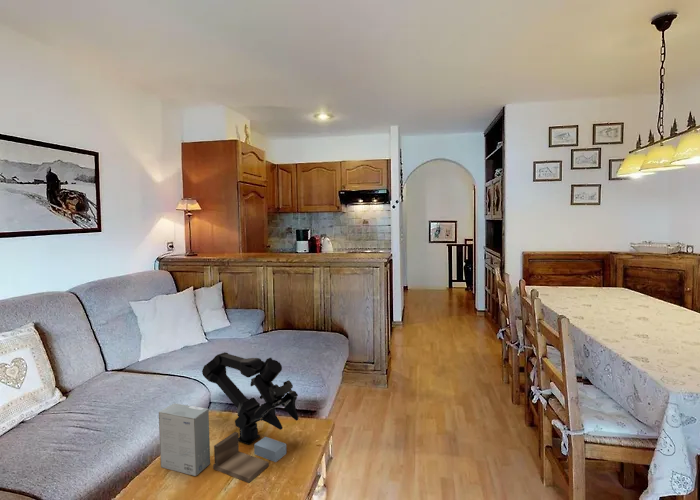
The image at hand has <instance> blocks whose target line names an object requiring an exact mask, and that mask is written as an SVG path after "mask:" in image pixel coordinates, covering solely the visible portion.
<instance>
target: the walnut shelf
mask: <svg viewBox="0 0 700 500" xmlns="http://www.w3.org/2000/svg"><path fill="white" fill-rule="evenodd" d="M238 438H239V432H237V431H234V432H232V433H231V434H229V435H228V436H226V437H225V438H224V439H222V440H221V441H219V442H217V443H216V444H214V445H213V449H214V451H213V453H214V463H213V465H212V470H215V471H218V472H219V473H223V474H225V475H227V476H230V477H234V478H235V479H237V480H241V481H243V482H245V483H251V482H252V481H253V480H254V479H255V478H257V477H258V476H259V475H260V474H261V473H263V471H265V470H266V469H268V467H269V466H270V465H269V464H270V463H269V460H265V459H262V458H259V457H256V456H253V455H250V454H248V453H244V452H241V451H239V441H238Z"/></svg>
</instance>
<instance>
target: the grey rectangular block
mask: <svg viewBox="0 0 700 500" xmlns="http://www.w3.org/2000/svg"><path fill="white" fill-rule="evenodd" d="M253 445H254V447H253V448H254V450H253V451H254V452H253V453H254V455H256V456H258V457H261V458H263V459H267V461H271V462H274V463H277V462H278V461H279V460H280V459H282V458H283V457H284V456H286V455H287V443H285V442H283V441H280V440H277V439H274V438H271V437H268V436H264V437H263V438H261V439H260V440H257V442H255V443H254V444H253Z"/></svg>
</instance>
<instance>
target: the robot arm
mask: <svg viewBox="0 0 700 500" xmlns="http://www.w3.org/2000/svg"><path fill="white" fill-rule="evenodd" d="M227 368H230V369H235V370H237V371H239V372H240V374H241V375H242V376H244V377H245V378H251V377H253V376H255V377H253V378H251V379H250V380H251V381H250V385H249V386H250V387H253V386H255V388H256V390H257V391H258V393H259V394H260V396H259V399H260V400H262V399H263V401H264V403H262V404H261V403H259V402H258V401H257V399H256V398H255V397H251V398H248V397H246V395H244V393H243V392H242V391H241V390H240V389H239V387H238V386H237V385H236V384H235V382H234V381H232V379H231V378H230V377H229V376H228V375H227ZM201 370H202V371H201V374H202V376H203V377H204V378H205V379H206V380H207V381H208V382H210V383H213V384H216V385H217V387H219V389H221V391H222V392H223V394H225V395H226V397H227V398H228V399H229V400H230V402H231V403H232V404H233V405H234V406H235V408H236V409H237V410H236V411H237V418H236V419H234V424H235V427H236V428H238V429H239V436H238V442H240V443H243V444H246V445H251V444H252V443H254V442H255V441H257V439H259V438H260V437H261V434H259V432H258V431H259V429H258V422H260V421H262V422H266V423H268V424H269V425H271V426H273V427H275V428H276V429H278V430H281V431H282V429H283V425H282V423H281V422H280V421H281V420H280V419H279V417H278V416H277V414H276V408H277V407H280V406H282V407H284V408H283V410H284V411H286V413H288V415H290V416H291V417H292V419H294V420H295V421H296V422H297V421H299V420H300V418H299V415H298V412H297V407H296V401H297V399H298V396H299V395H298V393H297V391H295V390H292V389H293V388H294V387H293V385H294V384H293V383H292V382H291V380H286V381H283V384H282V385H280V386H279V385H278V384H274V383H273V381H275V380H276V378H277V376H279V375H280V373H281V371H282V370H283V366H282V363H281V362H280V361H277V360H276V359H273V358H272V357H269V358H266V359H265V361H264V360H262V359H261V358H259V357H249V358H244V357H241V356H237V355H234V354H231V353H228V352H222V353H219V354H216V355H215V356H214V357H213V358H212V359H211V360H210V361H209V362H207V363H206V364H204V366H203V367H202V369H201Z"/></svg>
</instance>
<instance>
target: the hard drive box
mask: <svg viewBox="0 0 700 500" xmlns="http://www.w3.org/2000/svg"><path fill="white" fill-rule="evenodd" d="M209 413H210V411H209V408H206V407H199V406H193V405H188V404H187V405H186V404H181V403H172V404H170V405H169V406H167V407H165V408H163V409H161V410H160V411H159V412H158V426H159V427H158V428H159V429H158V430H159V431H158V432H159V452H160V453H159V455H160V457H159V458H160V468H163V469H167V470H169V471H173V472H178V473H182V474H185V475H188V476H189V475H190V476H193V477H196V476H198V475H199V474H200V473H202V471H204V470H205V469H206V468H207V467H208V466H210V465H211V445H210V444H211V442H210V440H211V439H210V415H209Z"/></svg>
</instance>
